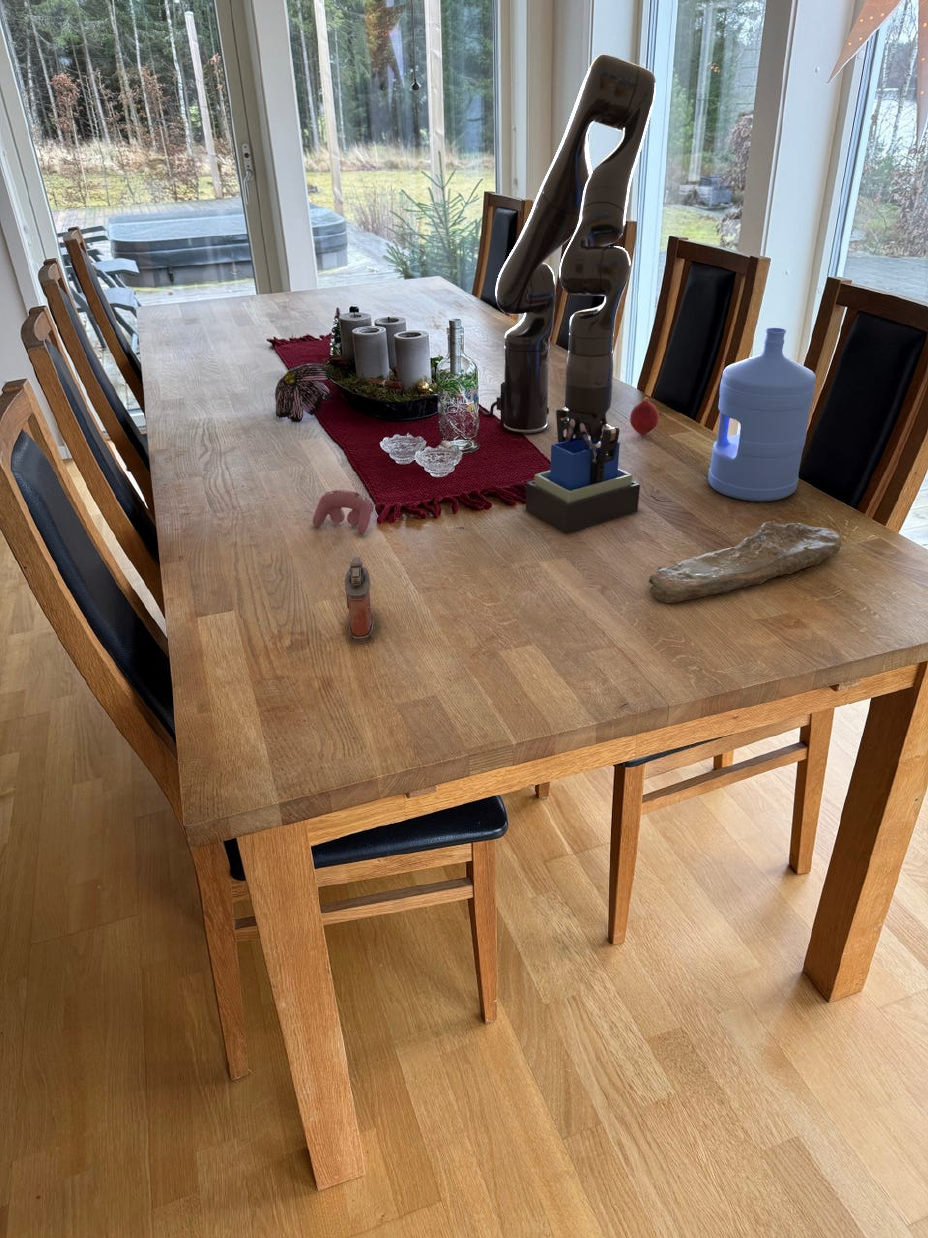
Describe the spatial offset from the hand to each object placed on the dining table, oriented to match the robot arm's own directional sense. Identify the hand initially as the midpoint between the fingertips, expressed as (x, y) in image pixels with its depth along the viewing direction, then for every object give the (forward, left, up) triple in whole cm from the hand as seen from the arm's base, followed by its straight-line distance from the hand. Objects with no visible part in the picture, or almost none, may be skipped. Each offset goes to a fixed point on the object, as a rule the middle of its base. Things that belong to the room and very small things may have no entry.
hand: (583, 476), depth 153 cm
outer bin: (0, 0, -6) cm, 6 cm away
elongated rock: (+32, -2, -7) cm, 33 cm away
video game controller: (-27, -31, -7) cm, 42 cm away
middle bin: (0, 0, -6) cm, 6 cm away
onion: (-13, +39, -7) cm, 42 cm away
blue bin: (0, 0, -1) cm, 1 cm away
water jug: (+17, +29, -7) cm, 34 cm away
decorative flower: (-80, +2, -7) cm, 80 cm away
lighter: (0, -51, -7) cm, 52 cm away
